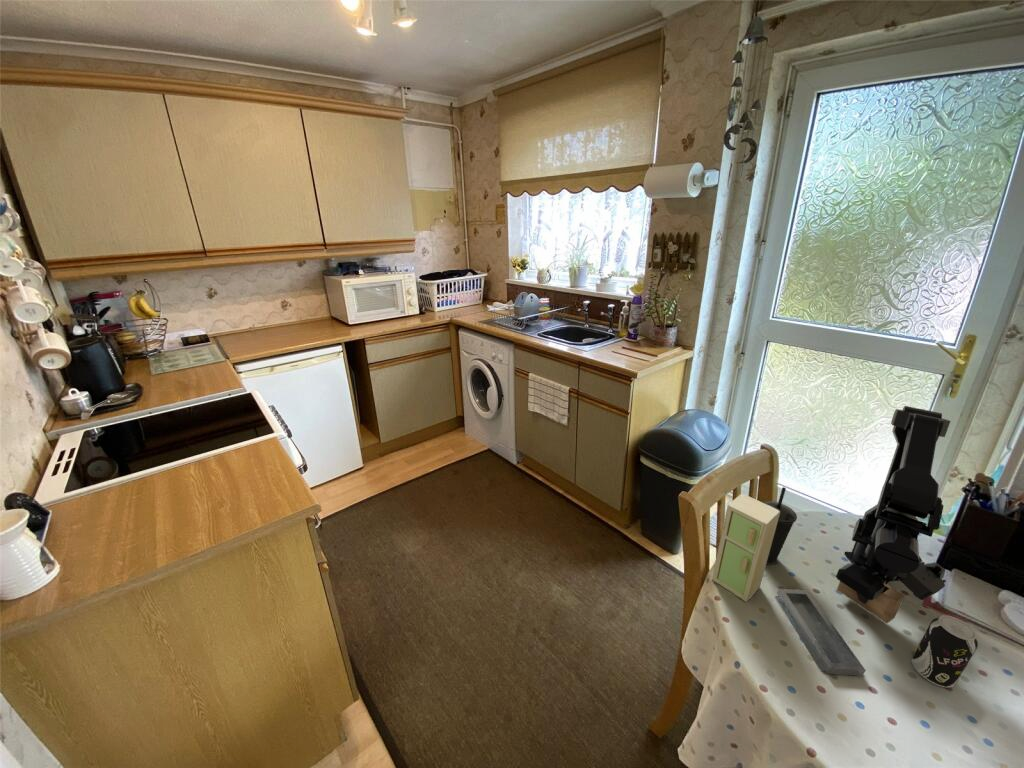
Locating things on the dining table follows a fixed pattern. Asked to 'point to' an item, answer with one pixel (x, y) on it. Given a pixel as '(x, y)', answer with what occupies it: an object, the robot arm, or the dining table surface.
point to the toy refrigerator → (745, 545)
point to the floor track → (818, 633)
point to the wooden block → (877, 602)
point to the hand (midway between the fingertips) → (866, 598)
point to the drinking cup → (780, 526)
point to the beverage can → (945, 650)
